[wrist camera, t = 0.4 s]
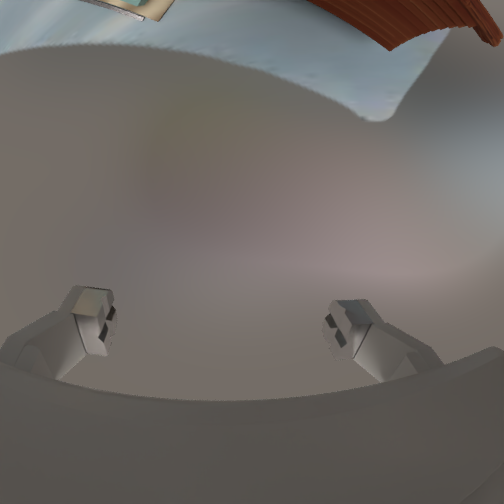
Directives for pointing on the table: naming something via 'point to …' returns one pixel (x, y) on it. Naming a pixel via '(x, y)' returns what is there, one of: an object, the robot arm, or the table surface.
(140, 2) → the cube
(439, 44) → the table surface
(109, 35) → the table surface
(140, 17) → the track
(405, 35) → the house
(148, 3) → the tan long piece
